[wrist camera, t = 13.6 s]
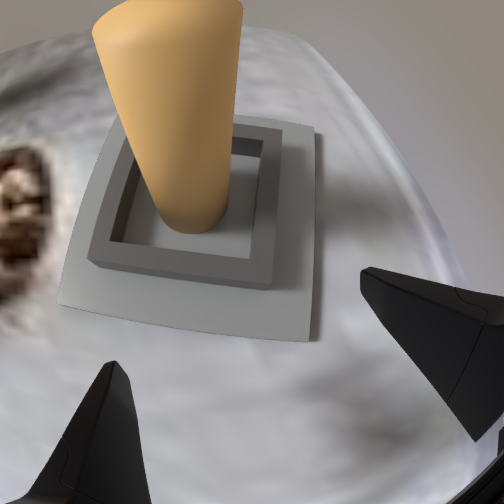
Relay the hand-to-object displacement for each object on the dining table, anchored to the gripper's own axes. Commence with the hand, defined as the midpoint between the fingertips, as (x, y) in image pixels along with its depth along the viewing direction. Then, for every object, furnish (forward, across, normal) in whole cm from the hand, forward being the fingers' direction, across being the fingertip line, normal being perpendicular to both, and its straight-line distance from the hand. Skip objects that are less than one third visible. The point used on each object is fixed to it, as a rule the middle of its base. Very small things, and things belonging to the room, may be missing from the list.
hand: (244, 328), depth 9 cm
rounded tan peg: (+11, 0, -1) cm, 11 cm away
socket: (+12, 0, -1) cm, 12 cm away
